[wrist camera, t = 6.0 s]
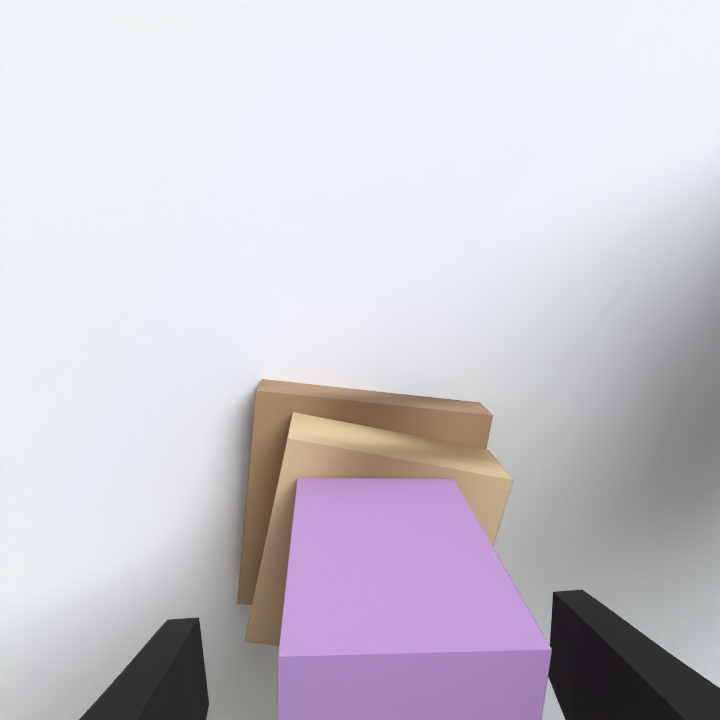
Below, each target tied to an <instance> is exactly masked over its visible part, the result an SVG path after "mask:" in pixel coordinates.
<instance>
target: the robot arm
mask: <svg viewBox="0 0 720 720" xmlns="http://www.w3.org/2000/svg"><path fill="white" fill-rule="evenodd" d="M550 647H551V649H552V652H551V659H550V665H549V672H548V677H549V679H550V682H551V684H552V687H553V689H554V692H555V695H556V697H557V700H558V702H559V705H560V707H561V710H562V712H563V714H564V717H565V719H566V720H720V688H719V687H717V686H716V685H714V684H713V683H711V682H710V681H709V680H707V679H706V678H704V677H703V676H701V675H700V674H698V673H697V672H695V671H694V670H693V669H691V668H690V667H688V666H687V665H685V664H684V663H683V662H681V661H680V660H678V659H677V658H676V657H674V656H673V655H671V654H670V653H669V652H667V651H666V650H664V649H663V648H662V647H660V646H659V645H657V644H656V643H655V642H653V641H652V640H651V639H649V638H648V637H646V636H645V635H644V634H642V633H641V632H640V631H638V630H637V629H636V628H634V627H633V626H632V625H630V624H629V623H627V622H626V621H625V620H623V619H622V618H621V617H619V616H618V615H617V614H615V613H614V612H613V611H611V610H610V609H608V608H607V607H606V606H604V605H603V604H602V603H600V602H599V601H597V600H596V599H595V598H593V597H592V596H590V595H589V594H587V593H586V592H584V591H583V590H573V591H559V592H553V604H552V620H551V636H550ZM208 706H209V699H208V691H207V682H206V674H205V665H204V657H203V648H202V639H201V631H200V622H199V618H186V619H172V620H167V621H166V622H165V623H164V624H163V625H162V627H161V628H160V629H159V630H158V631H157V632H156V633H155V634H154V636H153V637H152V638H151V639H150V640H149V641H148V643H147V644H146V645H145V646H144V647H143V648H142V650H141V651H140V652H139V653H138V654H137V655H136V656H135V658H134V659H133V660H132V661H131V662H130V663H129V665H128V666H127V667H126V668H125V669H124V670H123V671H122V673H121V674H120V675H119V676H118V677H117V678H116V679H115V681H114V682H113V683H112V684H111V685H110V686H109V687H108V688H107V690H106V691H105V692H104V693H103V694H102V695H101V696H100V697H99V698H98V699H97V701H96V702H95V703H94V704H93V705H92V706H91V707H90V708H89V709H88V711H87V712H86V713H85V714H84V715H83V716H82V717H81V718H80V719H79V720H206V717H207V712H208Z"/></svg>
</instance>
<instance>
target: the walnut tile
mask: <svg viewBox="0 0 720 720" xmlns="http://www.w3.org/2000/svg"><path fill="white" fill-rule="evenodd" d="M293 412H296V413H301V414H306V415H311V416H316V417H322V418H327V419H332V420H337V421H342V422H347V423H352V424H358V425H363V426H368V427H373V428H378V429H383V430H389V431H394V432H399V433H404V434H409V435H414V436H420V437H425V438H430V439H435V440H440V441H445V442H451V443H456V444H461V445H466V446H471V447H476V448H482V449H486V448H487V442H488V437H489V432H490V427H491V422H492V417H493V415H492V414H491V413H490V412H489V411H488V410H487V409H486V408H485V407H484V406H483V405H482V404H481V403H478V402H468V401H459V400H450V399H441V398H431V397H422V396H413V395H404V394H394V393H385V392H376V391H367V390H358V389H348V388H339V387H330V386H321V385H311V384H302V383H293V382H284V381H274V380H265V379H262V380H261V382H260V384H259V386H258V388H257V390H256V399H255V410H254V422H253V433H252V444H251V455H250V467H249V478H248V489H247V500H246V512H245V523H244V534H243V546H242V557H241V568H240V579H239V591H238V602H237V604H250V605H252V603H253V599H254V594H255V589H256V584H257V579H258V575H259V570H260V565H261V560H262V556H263V551H264V546H265V541H266V537H267V532H268V527H269V523H270V518H271V513H272V508H273V504H274V499H275V494H276V489H277V485H278V480H279V475H280V470H281V466H282V461H283V456H284V452H285V447H286V442H287V437H288V433H289V428H290V423H291V418H292V414H293Z"/></svg>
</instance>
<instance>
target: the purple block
mask: <svg viewBox="0 0 720 720" xmlns="http://www.w3.org/2000/svg"><path fill="white" fill-rule="evenodd" d="M551 652H552V649H551V647H550V645H549V644H548V642H547V640H546V638H545V637H544V635H543V633H542V631H541V630H540V628H539V626H538V624H537V623H536V621H535V619H534V618H533V616H532V614H531V612H530V611H529V609H528V607H527V605H526V604H525V602H524V600H523V599H522V597H521V595H520V593H519V592H518V590H517V588H516V586H515V585H514V583H513V581H512V579H511V578H510V576H509V574H508V573H507V571H506V569H505V567H504V566H503V564H502V562H501V560H500V559H499V557H498V555H497V553H496V552H495V550H494V548H493V547H492V545H491V543H490V541H489V540H488V538H487V536H486V534H485V533H484V531H483V529H482V527H481V526H480V524H479V522H478V521H477V519H476V517H475V515H474V514H473V512H472V510H471V508H470V507H469V505H468V503H467V502H466V500H465V498H464V496H463V495H462V493H461V491H460V489H459V488H458V486H457V484H456V482H455V481H454V479H419V478H298V480H297V489H296V498H295V507H294V516H293V526H292V535H291V544H290V553H289V563H288V572H287V581H286V590H285V599H284V609H283V618H282V627H281V636H280V645H279V655H278V720H541V718H542V711H543V705H544V698H545V692H546V685H547V678H548V672H549V665H550V659H551Z"/></svg>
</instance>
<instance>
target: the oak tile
mask: <svg viewBox="0 0 720 720" xmlns="http://www.w3.org/2000/svg"><path fill="white" fill-rule="evenodd" d="M298 478H419V479H454V481H455V482H456V484H457V486H458V488H459V489H460V491H461V493H462V495H463V496H464V498H465V500H466V502H467V503H468V505H469V507H470V508H471V510H472V512H473V514H474V515H475V517H476V519H477V521H478V522H479V524H480V526H481V527H482V529H483V531H484V533H485V534H486V536H487V538H488V540H489V541H490V543H491V545H492V547H493V544H494V541H495V537H496V534H497V531H498V528H499V525H500V522H501V518H502V515H503V512H504V509H505V506H506V503H507V499H508V496H509V493H510V490H511V487H512V484H513V481H514V480H513V479H512V478H511V476H510V475H509V474H508V473H507V472H506V470H505V469H504V468H503V467H502V466H501V464H500V463H499V462H498V461H497V460H496V458H495V457H494V456H493V455H492V454H491V452H490V451H489V450H487V449H482V448H476V447H471V446H466V445H461V444H456V443H451V442H445V441H440V440H435V439H430V438H425V437H420V436H414V435H409V434H404V433H399V432H394V431H389V430H383V429H378V428H373V427H368V426H363V425H358V424H352V423H347V422H342V421H337V420H332V419H327V418H322V417H316V416H311V415H306V414H301V413H296V412H293V414H292V418H291V423H290V428H289V433H288V437H287V442H286V447H285V452H284V456H283V461H282V466H281V470H280V475H279V480H278V485H277V489H276V494H275V499H274V504H273V508H272V513H271V518H270V523H269V527H268V532H267V537H266V541H265V546H264V551H263V556H262V560H261V565H260V570H259V575H258V579H257V584H256V589H255V594H254V599H253V603H252V608H251V613H250V618H249V623H248V628H247V633H246V638H245V641H248V642H255V643H263V644H270V645H277V646H279V645H280V636H281V627H282V618H283V609H284V599H285V590H286V581H287V572H288V563H289V553H290V544H291V535H292V526H293V516H294V507H295V498H296V489H297V480H298Z"/></svg>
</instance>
